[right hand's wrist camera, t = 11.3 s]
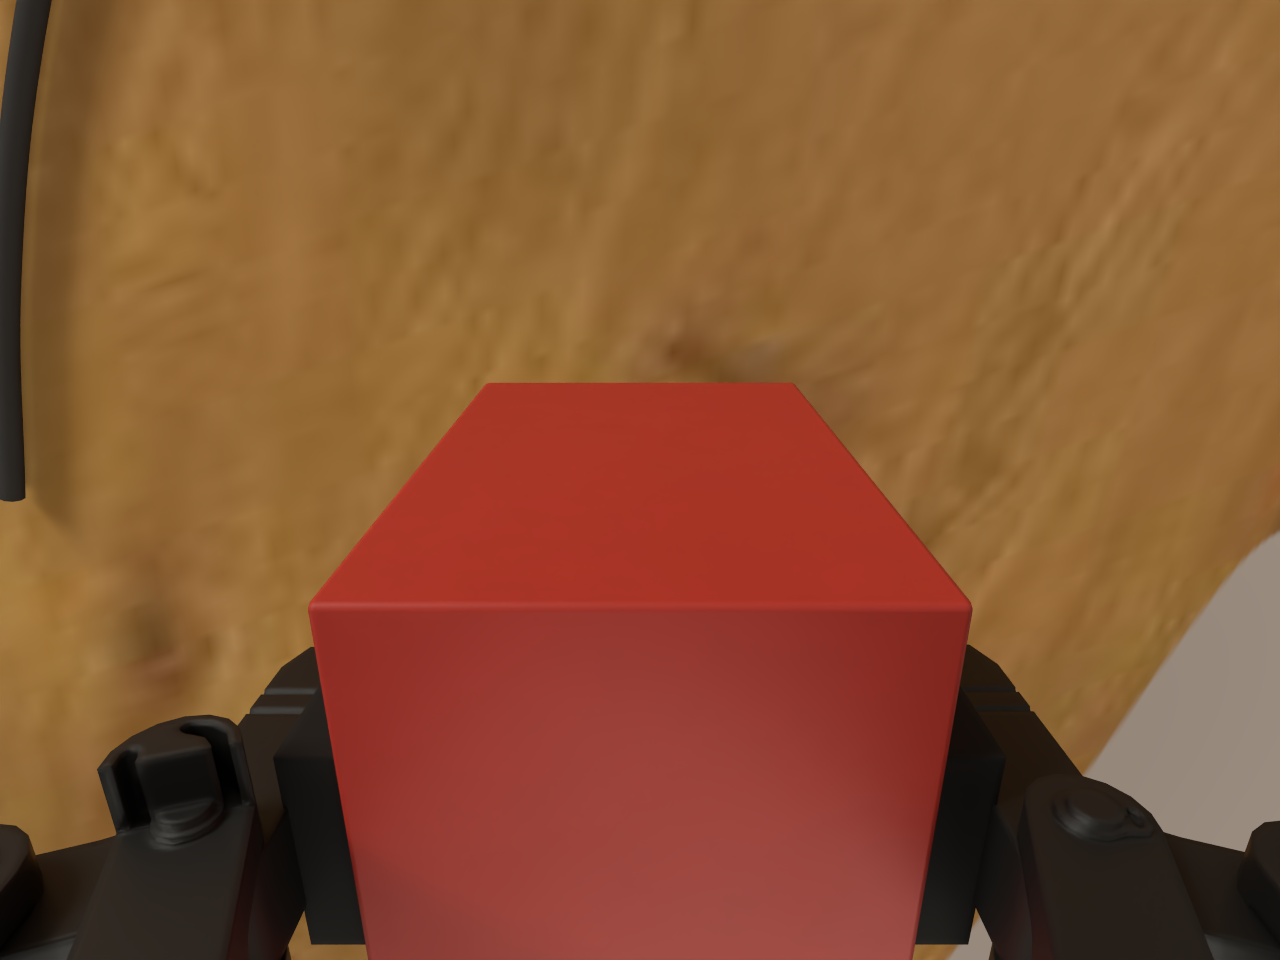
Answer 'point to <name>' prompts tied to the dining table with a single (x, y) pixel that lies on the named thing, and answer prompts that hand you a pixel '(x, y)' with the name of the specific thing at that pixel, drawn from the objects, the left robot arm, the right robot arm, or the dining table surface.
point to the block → (640, 686)
